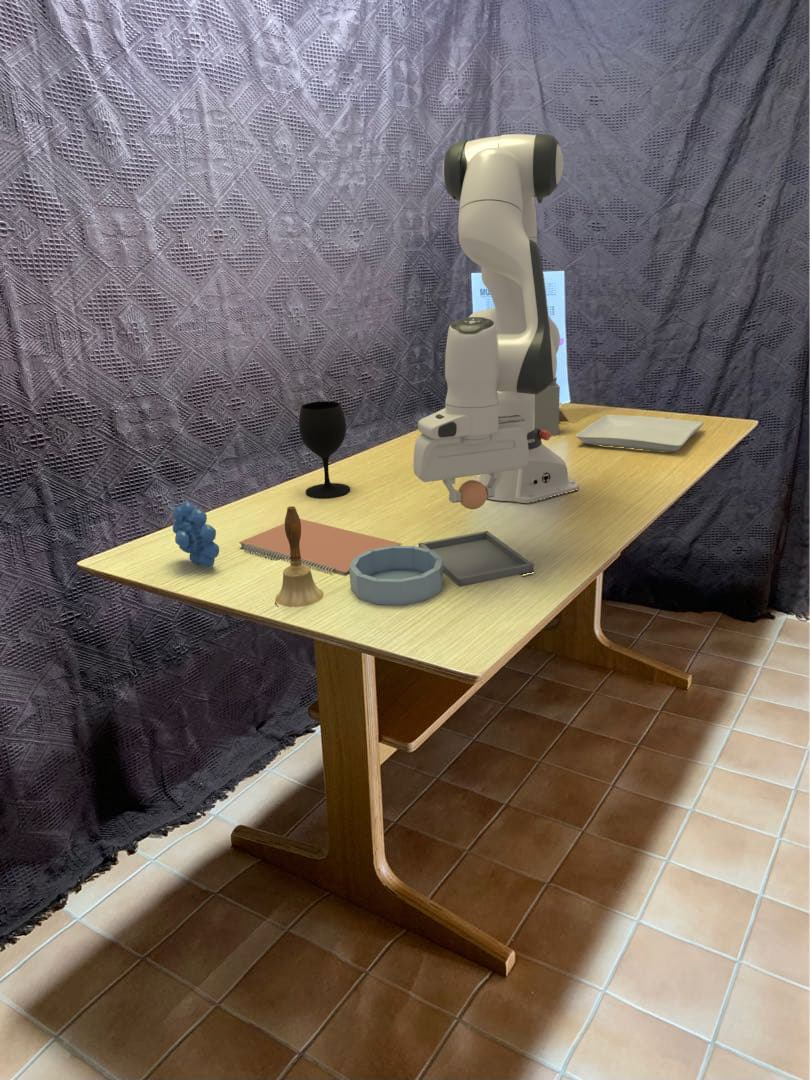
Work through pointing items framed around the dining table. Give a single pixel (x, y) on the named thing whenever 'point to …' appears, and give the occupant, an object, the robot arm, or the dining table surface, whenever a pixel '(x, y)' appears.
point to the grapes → (195, 534)
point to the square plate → (639, 432)
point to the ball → (473, 494)
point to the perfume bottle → (548, 409)
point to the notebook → (316, 546)
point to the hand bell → (296, 570)
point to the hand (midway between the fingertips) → (472, 499)
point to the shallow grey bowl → (396, 575)
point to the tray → (478, 558)
